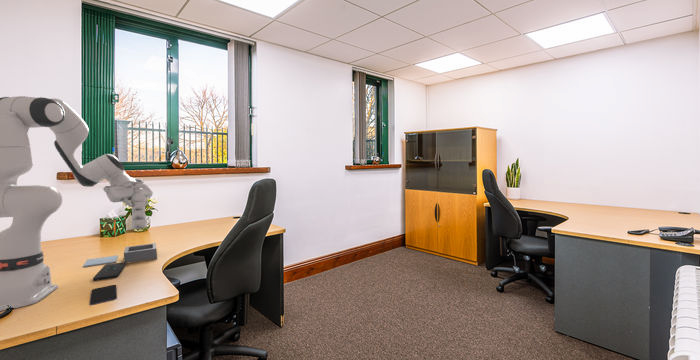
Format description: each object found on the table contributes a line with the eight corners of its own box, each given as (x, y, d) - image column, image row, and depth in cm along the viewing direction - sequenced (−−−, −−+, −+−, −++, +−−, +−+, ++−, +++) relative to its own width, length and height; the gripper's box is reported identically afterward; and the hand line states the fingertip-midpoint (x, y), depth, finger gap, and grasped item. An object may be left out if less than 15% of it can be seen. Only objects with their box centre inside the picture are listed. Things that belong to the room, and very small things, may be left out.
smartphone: (89, 305, 101) (91, 289, 113) (89, 308, 101) (91, 292, 113) (117, 298, 105) (116, 284, 117) (117, 301, 106) (116, 286, 117)
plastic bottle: (139, 230, 149) (137, 189, 148) (127, 229, 151) (126, 188, 150) (150, 227, 156) (149, 188, 155) (139, 227, 157) (137, 187, 156)
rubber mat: (115, 262, 147) (115, 261, 147) (82, 267, 140) (82, 266, 140) (118, 256, 157) (118, 255, 157) (87, 260, 150) (87, 259, 150)
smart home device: (127, 261, 144) (117, 274, 126) (127, 264, 144) (117, 278, 127) (105, 264, 141) (91, 278, 123) (105, 267, 141) (92, 282, 123)
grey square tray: (157, 258, 152) (156, 248, 152) (124, 263, 145) (123, 252, 145) (156, 252, 163) (156, 243, 163) (126, 256, 156) (125, 247, 156)
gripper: (104, 181, 144) (121, 203, 142) (145, 179, 164) (160, 198, 161) (98, 191, 146) (114, 212, 143) (139, 188, 165) (154, 206, 163)
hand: (139, 205), depth 152 cm, fingers closed on plastic bottle, 6 cm apart
